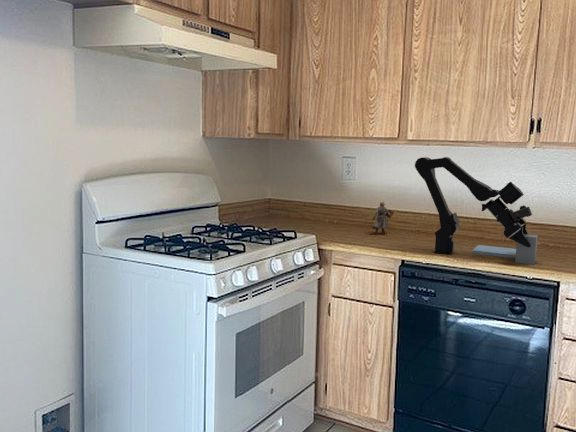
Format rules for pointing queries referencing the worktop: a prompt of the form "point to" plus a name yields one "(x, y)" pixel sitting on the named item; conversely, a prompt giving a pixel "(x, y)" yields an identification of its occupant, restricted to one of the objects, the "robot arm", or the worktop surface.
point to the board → (495, 251)
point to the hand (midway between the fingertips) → (530, 245)
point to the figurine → (381, 218)
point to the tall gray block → (527, 250)
